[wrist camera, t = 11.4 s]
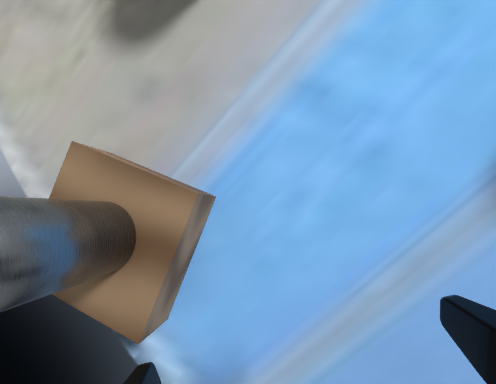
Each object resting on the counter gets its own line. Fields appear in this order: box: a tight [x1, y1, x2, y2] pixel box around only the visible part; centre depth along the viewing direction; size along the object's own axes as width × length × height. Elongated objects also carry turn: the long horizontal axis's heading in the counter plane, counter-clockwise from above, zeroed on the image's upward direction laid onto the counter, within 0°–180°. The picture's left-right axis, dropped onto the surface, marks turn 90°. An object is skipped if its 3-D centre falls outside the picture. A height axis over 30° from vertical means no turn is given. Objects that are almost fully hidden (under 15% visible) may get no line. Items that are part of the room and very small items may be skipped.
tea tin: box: [0, 196, 136, 312], centre depth 12 cm, size 5×5×12 cm
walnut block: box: [49, 141, 216, 344], centre depth 20 cm, size 11×11×4 cm
